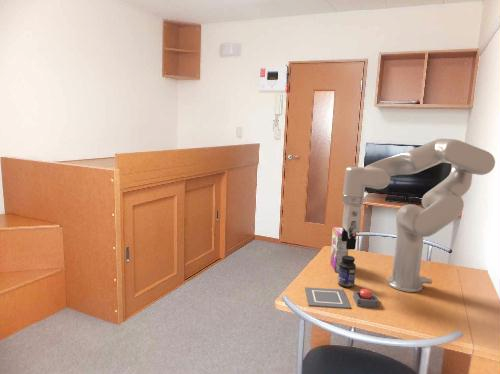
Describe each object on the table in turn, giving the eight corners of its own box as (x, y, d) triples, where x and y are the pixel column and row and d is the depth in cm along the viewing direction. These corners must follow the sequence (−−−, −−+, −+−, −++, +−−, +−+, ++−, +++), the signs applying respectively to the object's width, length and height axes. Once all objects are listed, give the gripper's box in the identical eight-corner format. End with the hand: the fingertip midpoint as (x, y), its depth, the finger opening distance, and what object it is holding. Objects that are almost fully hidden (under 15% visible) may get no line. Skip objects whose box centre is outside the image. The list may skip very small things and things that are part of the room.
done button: (370, 294, 132) (370, 289, 132) (373, 299, 129) (373, 294, 128) (358, 293, 133) (359, 288, 132) (361, 299, 129) (361, 293, 128)
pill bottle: (350, 289, 141) (352, 261, 139) (334, 285, 144) (337, 257, 143) (356, 284, 146) (359, 257, 144) (341, 280, 149) (343, 253, 147)
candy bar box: (329, 262, 168) (332, 226, 166) (340, 263, 168) (343, 227, 166) (334, 272, 157) (337, 234, 155) (346, 273, 157) (350, 234, 155)
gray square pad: (343, 290, 140) (343, 289, 140) (350, 308, 126) (351, 307, 126) (304, 288, 140) (305, 287, 140) (308, 305, 127) (308, 304, 126)
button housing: (372, 298, 134) (373, 292, 134) (378, 307, 127) (379, 301, 127) (352, 297, 135) (353, 291, 134) (357, 306, 128) (357, 299, 127)
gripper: (368, 205, 131) (363, 253, 134) (357, 196, 148) (353, 239, 151) (347, 204, 131) (342, 251, 134) (338, 195, 148) (334, 237, 151)
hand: (347, 245), depth 142 cm, fingers open, 9 cm apart
